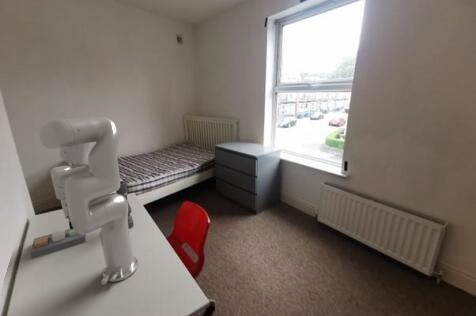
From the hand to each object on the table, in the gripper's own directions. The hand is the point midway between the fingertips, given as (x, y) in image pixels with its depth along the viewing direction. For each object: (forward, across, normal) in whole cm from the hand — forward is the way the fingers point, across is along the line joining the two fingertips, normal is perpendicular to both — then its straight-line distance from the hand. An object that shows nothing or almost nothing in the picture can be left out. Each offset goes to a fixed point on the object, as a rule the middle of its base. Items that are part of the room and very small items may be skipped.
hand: (74, 227), depth 103 cm
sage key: (+4, 0, 0) cm, 4 cm away
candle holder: (+6, -4, -22) cm, 23 cm away
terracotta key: (+5, 0, +12) cm, 13 cm away
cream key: (+4, 0, +6) cm, 7 cm away
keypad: (+6, 0, +6) cm, 8 cm away
